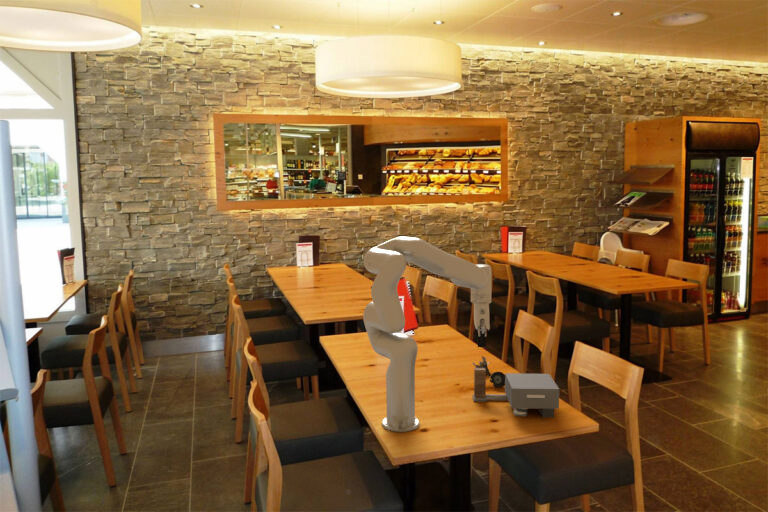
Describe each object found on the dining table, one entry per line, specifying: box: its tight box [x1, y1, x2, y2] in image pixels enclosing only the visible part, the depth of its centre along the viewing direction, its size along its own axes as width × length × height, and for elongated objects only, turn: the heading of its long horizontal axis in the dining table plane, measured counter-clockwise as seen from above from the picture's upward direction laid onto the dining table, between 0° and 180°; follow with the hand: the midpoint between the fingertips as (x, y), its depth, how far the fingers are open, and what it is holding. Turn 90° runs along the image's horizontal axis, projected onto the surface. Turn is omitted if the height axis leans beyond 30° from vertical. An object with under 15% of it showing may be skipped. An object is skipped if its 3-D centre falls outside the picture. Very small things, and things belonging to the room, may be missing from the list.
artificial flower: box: [472, 355, 505, 389], centre depth 246 cm, size 9×22×10 cm, turn 6°
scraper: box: [472, 367, 508, 403], centre depth 222 cm, size 4×20×12 cm, turn 87°
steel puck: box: [512, 408, 529, 418], centre depth 209 cm, size 5×5×2 cm
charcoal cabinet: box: [504, 372, 560, 418], centre depth 211 cm, size 17×16×11 cm
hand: (480, 343), depth 221 cm, fingers open, 9 cm apart
